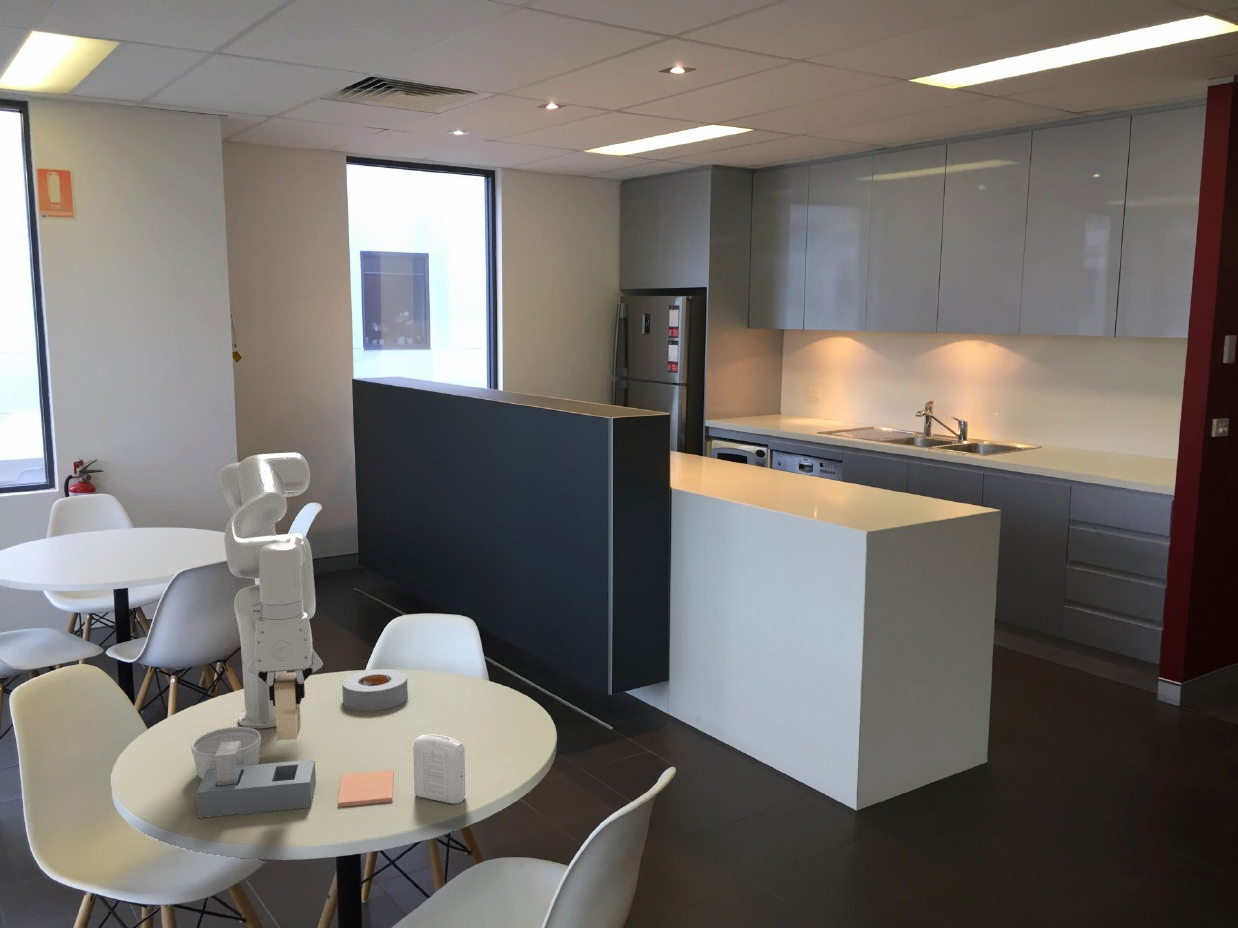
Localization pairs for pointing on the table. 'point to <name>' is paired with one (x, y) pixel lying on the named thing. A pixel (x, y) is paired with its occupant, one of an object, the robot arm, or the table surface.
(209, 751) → the ramekin
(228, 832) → the table surface
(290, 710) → the beech plug
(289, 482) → the robot arm
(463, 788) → the photo printer
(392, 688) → the tape roll
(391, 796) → the mat
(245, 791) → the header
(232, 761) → the steel plug
